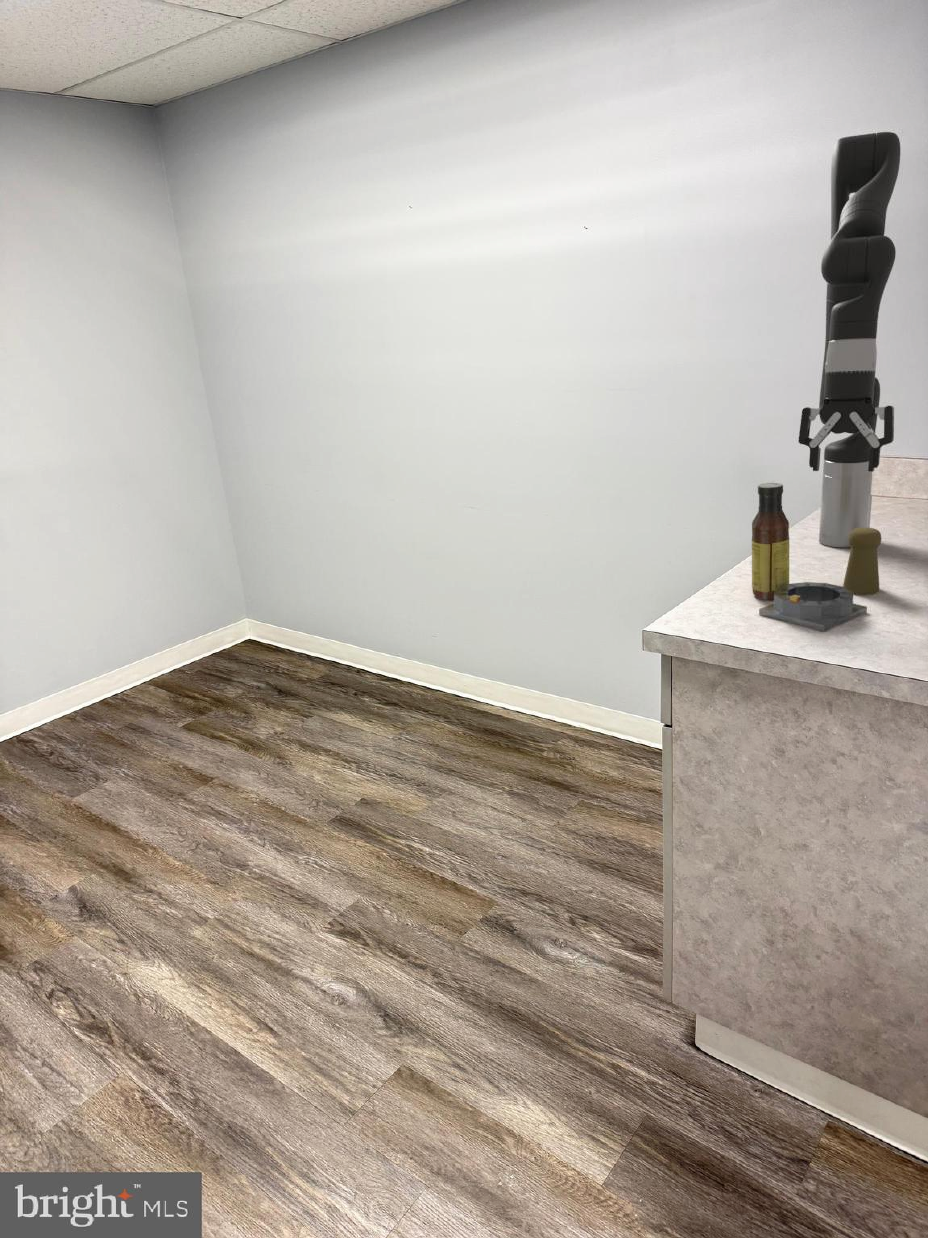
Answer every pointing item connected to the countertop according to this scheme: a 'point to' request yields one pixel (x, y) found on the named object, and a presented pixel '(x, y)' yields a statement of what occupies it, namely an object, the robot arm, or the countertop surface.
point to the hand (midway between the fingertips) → (843, 470)
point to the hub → (813, 605)
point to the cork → (863, 562)
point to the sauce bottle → (770, 543)
